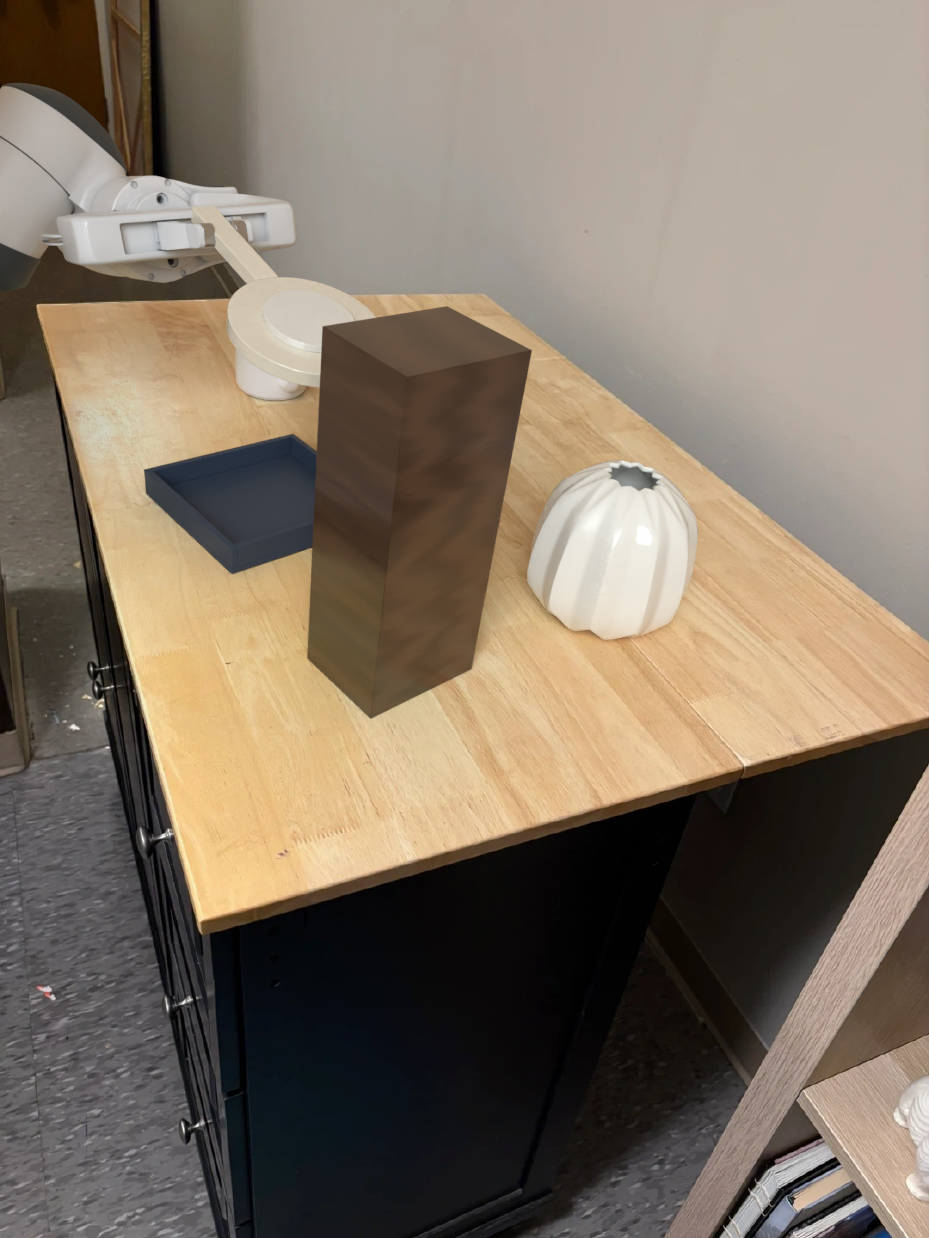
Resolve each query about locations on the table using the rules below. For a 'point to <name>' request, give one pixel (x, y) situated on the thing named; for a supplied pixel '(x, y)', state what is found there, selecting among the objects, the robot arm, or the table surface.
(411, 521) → the stand
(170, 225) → the robot arm
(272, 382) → the mug
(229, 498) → the tray
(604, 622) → the vase
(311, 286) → the beige frying pan
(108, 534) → the table surface
